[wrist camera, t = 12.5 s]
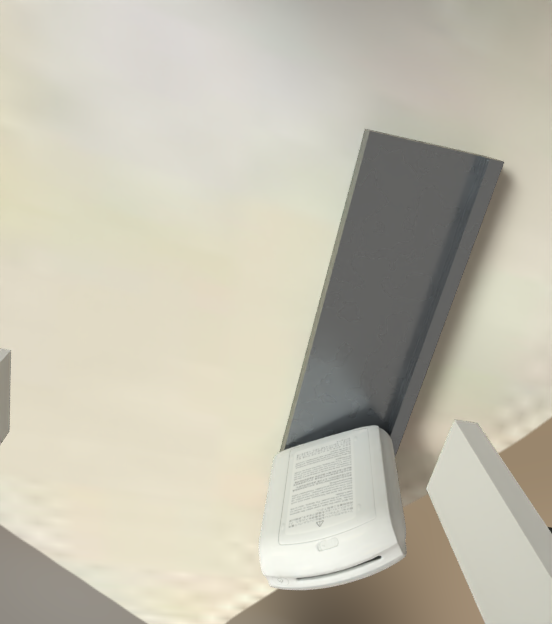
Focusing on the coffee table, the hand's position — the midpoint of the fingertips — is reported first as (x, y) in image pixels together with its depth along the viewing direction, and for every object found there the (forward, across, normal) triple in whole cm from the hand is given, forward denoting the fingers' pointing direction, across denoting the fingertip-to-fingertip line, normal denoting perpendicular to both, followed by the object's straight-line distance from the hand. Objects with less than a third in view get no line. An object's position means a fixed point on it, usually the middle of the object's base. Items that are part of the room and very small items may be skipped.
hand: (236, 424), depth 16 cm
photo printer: (+23, +11, -18) cm, 31 cm away
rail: (+25, +12, -8) cm, 28 cm away
